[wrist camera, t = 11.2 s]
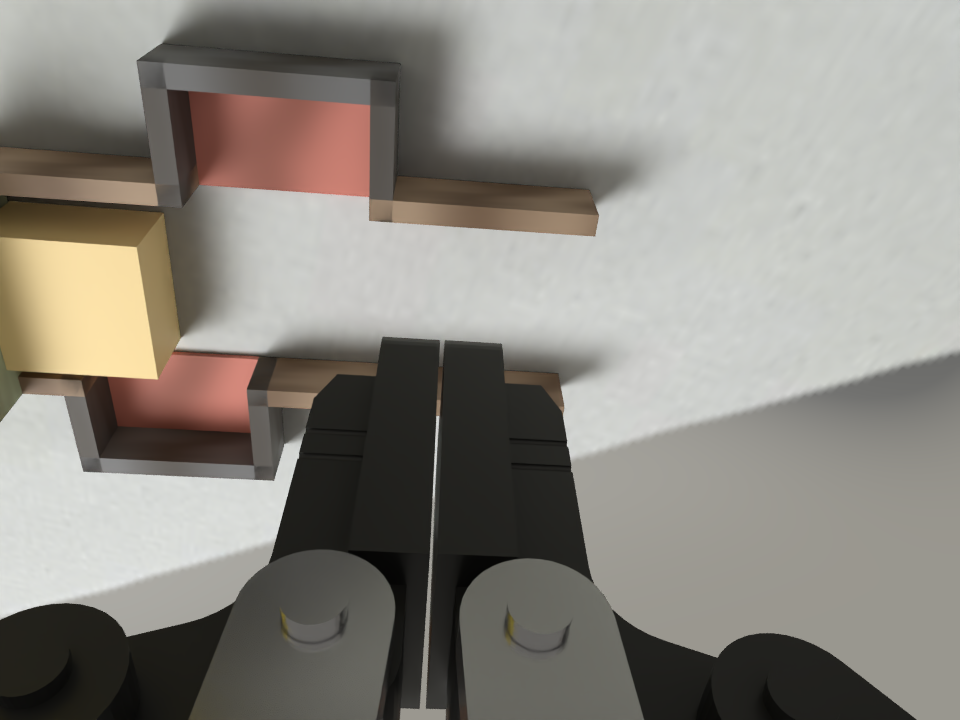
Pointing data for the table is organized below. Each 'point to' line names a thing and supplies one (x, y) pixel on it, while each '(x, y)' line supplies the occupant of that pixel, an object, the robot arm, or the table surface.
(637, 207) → the table surface
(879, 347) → the table surface
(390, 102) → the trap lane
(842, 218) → the table surface
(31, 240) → the block
